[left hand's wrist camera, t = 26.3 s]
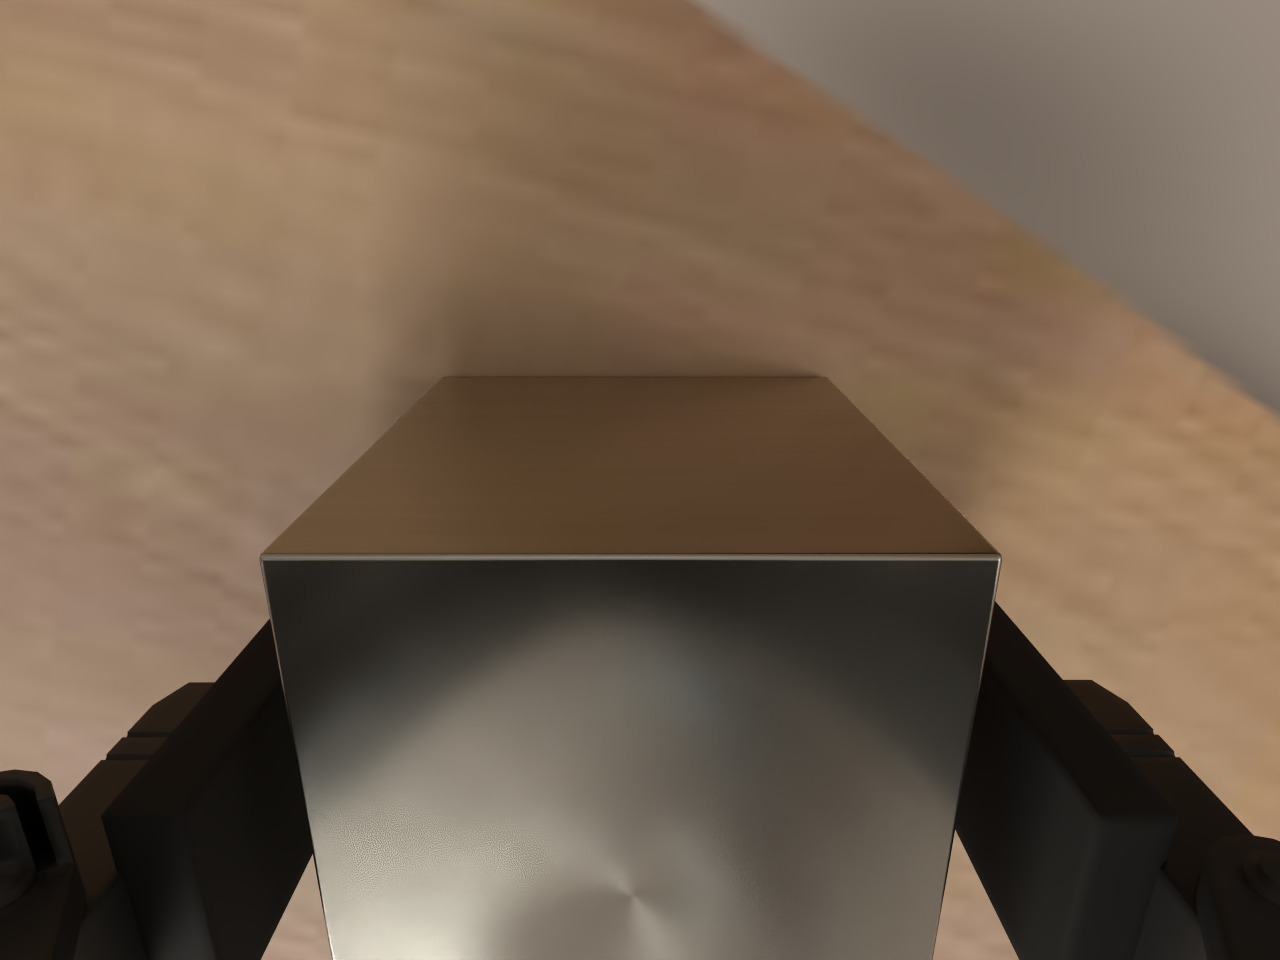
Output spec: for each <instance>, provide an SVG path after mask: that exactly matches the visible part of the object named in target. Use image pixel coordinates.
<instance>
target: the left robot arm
mask: <svg viewBox="0 0 1280 960" xmlns="http://www.w3.org/2000/svg"><path fill="white" fill-rule="evenodd" d="M955 830H956V832H957V834H958V836H959V838H960V840H961V842H962V844H963V846H964V848H965V850H966V852H967V854H968V856H969V858H970V860H971V862H972V864H973V866H974V868H975V870H976V872H977V874H978V876H979V878H980V881H981V883H982V885H983V887H984V889H985V891H986V893H987V895H988V897H989V899H990V901H991V903H992V905H993V907H994V909H995V911H996V913H997V915H998V917H999V919H1000V921H1001V923H1002V925H1003V927H1004V929H1005V931H1006V933H1007V935H1008V937H1009V940H1010V942H1011V944H1012V946H1013V948H1014V950H1015V952H1016V954H1017V956H1018V958H1019V960H1280V841H1278V840H1275V839H1271V838H1265V837H1259V836H1254V835H1253V834H1252V833H1251V832H1250V831H1249V830H1248V829H1247V828H1246V827H1245V826H1244V825H1243V824H1242V823H1241V822H1240V821H1239V819H1238V818H1237V817H1236V816H1235V815H1234V814H1233V813H1232V812H1231V811H1230V810H1229V809H1228V808H1227V807H1226V806H1225V805H1224V804H1223V803H1222V802H1221V800H1220V799H1219V798H1218V797H1217V796H1216V795H1215V794H1214V793H1213V792H1212V791H1211V790H1210V789H1209V788H1208V787H1207V786H1206V785H1205V784H1204V783H1203V781H1202V780H1201V779H1200V778H1199V777H1198V776H1197V775H1196V774H1195V773H1194V772H1193V771H1192V770H1191V769H1190V768H1189V767H1188V766H1187V765H1186V764H1185V762H1184V761H1183V760H1182V759H1181V758H1180V757H1175V755H1174V751H1173V750H1172V749H1171V748H1170V747H1169V746H1168V745H1167V743H1166V742H1165V741H1164V740H1163V739H1162V738H1161V737H1160V736H1159V735H1154V733H1153V729H1152V728H1151V727H1150V726H1149V724H1148V723H1147V722H1146V721H1145V720H1144V719H1143V718H1142V717H1141V716H1140V715H1139V714H1138V713H1137V712H1136V711H1135V710H1134V709H1133V708H1132V706H1131V705H1130V704H1129V703H1128V702H1126V701H1124V700H1123V699H1121V698H1120V697H1118V696H1116V695H1115V694H1113V693H1112V692H1110V691H1108V690H1107V689H1105V688H1103V687H1102V686H1100V685H1099V684H1097V683H1095V682H1094V681H1092V680H1062V678H1061V677H1060V676H1059V675H1058V674H1057V673H1056V671H1055V670H1054V669H1053V668H1052V667H1051V666H1050V665H1049V663H1048V662H1047V661H1046V660H1045V659H1044V658H1043V656H1042V655H1041V654H1040V653H1039V652H1038V651H1037V649H1036V648H1035V647H1034V646H1033V645H1032V644H1031V642H1030V641H1029V640H1028V639H1027V638H1026V637H1025V635H1024V634H1023V633H1022V632H1021V631H1020V630H1019V628H1018V627H1017V626H1016V625H1015V624H1014V623H1013V621H1012V620H1011V619H1010V618H1009V617H1008V616H1007V614H1006V613H1005V612H1004V611H1003V610H1002V609H1001V607H1000V606H999V605H998V604H997V603H996V602H995V603H994V608H993V614H992V620H991V626H990V631H989V637H988V643H987V649H986V654H985V660H984V666H983V672H982V677H981V683H980V689H979V694H978V700H977V706H976V712H975V717H974V723H973V729H972V735H971V740H970V746H969V752H968V758H967V763H966V769H965V775H964V781H963V786H962V792H961V798H960V804H959V809H958V815H957V821H956V827H955ZM312 854H313V851H312V846H311V840H310V835H309V829H308V824H307V818H306V813H305V807H304V802H303V796H302V791H301V785H300V780H299V774H298V769H297V763H296V758H295V752H294V747H293V741H292V736H291V730H290V725H289V719H288V714H287V708H286V702H285V697H284V691H283V686H282V680H281V675H280V669H279V664H278V658H277V653H276V647H275V642H274V636H273V631H272V625H271V620H270V619H269V620H268V621H267V623H266V624H265V625H264V626H263V627H262V628H261V630H260V631H259V632H258V633H257V634H256V635H255V637H254V638H253V639H252V640H251V641H250V642H249V644H248V645H247V646H246V647H245V648H244V649H243V651H242V652H241V653H240V654H239V655H238V656H237V658H236V659H235V660H234V661H233V662H232V663H231V665H230V666H229V667H228V668H227V669H226V670H225V672H224V673H223V674H222V675H221V676H220V677H219V678H218V680H217V681H216V682H215V683H188V684H186V685H184V686H183V687H181V688H180V689H178V690H176V691H175V692H173V693H172V694H170V695H168V696H167V697H165V698H164V699H162V700H161V701H159V702H157V703H156V704H154V705H153V706H152V707H151V708H150V709H149V710H148V711H147V712H146V713H145V714H144V715H143V716H142V717H141V718H140V719H139V721H138V722H137V723H136V724H135V725H134V726H133V727H132V728H131V729H130V730H129V731H128V735H127V737H123V738H122V739H121V740H120V741H119V742H118V743H117V744H116V745H115V746H114V747H113V748H112V749H111V750H110V751H109V752H108V753H107V757H106V760H101V761H100V762H99V763H98V764H97V765H96V766H95V767H94V768H93V769H92V770H91V772H90V773H89V774H88V775H87V776H86V777H85V778H84V779H83V780H82V781H81V782H80V783H79V784H78V785H77V786H76V787H75V789H74V790H73V791H72V792H71V793H70V794H69V795H68V796H67V797H66V798H65V799H64V800H63V801H62V802H61V803H60V804H59V805H58V802H57V799H56V796H55V793H54V789H53V786H52V783H51V781H50V780H48V779H47V778H45V777H44V776H43V775H41V774H40V773H38V772H32V771H23V770H8V771H2V772H0V960H261V958H262V956H263V954H264V952H265V950H266V948H267V946H268V944H269V942H270V940H271V938H272V935H273V933H274V931H275V929H276V927H277V925H278V923H279V921H280V919H281V917H282V915H283V913H284V911H285V909H286V907H287V905H288V903H289V901H290V899H291V897H292V895H293V893H294V891H295V889H296V887H297V885H298V883H299V881H300V879H301V876H302V874H303V872H304V870H305V868H306V866H307V864H308V862H309V860H310V858H311V856H312Z"/></svg>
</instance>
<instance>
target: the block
mask: <svg viewBox="0 0 1280 960" xmlns="http://www.w3.org/2000/svg"><path fill="white" fill-rule="evenodd" d="M1001 562H1002V557H1001V554H1000V553H999V552H998V551H997V550H996V549H995V548H994V547H993V546H992V545H991V544H990V543H989V542H988V541H987V540H986V539H985V538H984V537H983V536H982V535H981V534H980V533H979V532H978V531H977V530H976V529H975V528H974V527H973V526H972V525H971V524H970V523H969V522H968V521H967V519H966V518H965V517H964V516H963V515H962V514H961V513H960V512H959V511H958V510H957V509H956V508H955V507H954V506H953V505H952V504H951V503H950V502H949V501H948V500H947V499H946V498H945V497H944V496H943V495H942V494H941V493H940V492H939V491H938V490H937V489H936V488H935V487H934V486H933V485H932V484H931V483H930V482H929V481H928V480H927V479H926V478H925V477H924V476H923V475H922V474H921V473H920V472H919V471H918V470H917V469H916V468H915V467H914V465H913V464H912V463H911V462H910V461H909V460H908V459H907V458H906V457H905V456H904V455H903V454H902V453H901V452H900V451H899V450H898V449H897V448H896V447H895V446H894V445H893V444H892V443H891V442H890V441H889V440H888V439H887V438H886V437H885V436H884V435H883V434H882V433H881V432H880V431H879V430H878V429H877V428H876V427H875V426H874V425H873V424H872V423H871V422H870V421H869V420H868V419H867V418H866V417H865V416H864V415H863V414H862V413H861V411H860V410H859V409H858V408H857V407H856V406H855V405H854V404H853V403H852V402H851V401H850V400H849V399H848V398H847V397H846V396H845V395H844V394H843V393H842V392H841V391H840V390H839V389H838V388H837V387H836V386H835V385H834V384H833V383H832V382H831V381H830V380H829V379H828V378H826V377H443V378H442V379H441V380H440V381H439V382H438V383H437V384H435V385H434V386H433V387H432V388H431V389H430V390H429V391H428V392H427V393H426V394H425V395H424V396H423V397H422V398H421V399H420V400H419V401H418V402H417V403H416V404H415V405H414V406H413V407H412V408H411V409H410V410H409V411H408V412H407V413H406V414H405V415H404V416H403V417H402V418H400V419H399V420H398V421H397V422H396V423H395V424H394V425H393V426H392V427H391V428H390V429H389V430H388V431H387V432H386V433H385V434H384V435H383V436H382V437H381V438H380V439H379V440H378V441H377V442H376V443H375V444H374V445H373V446H372V447H371V448H370V449H369V450H368V451H366V452H365V453H364V454H363V455H362V456H361V457H360V458H359V459H358V460H357V461H356V462H355V463H354V464H353V465H352V466H351V467H350V468H349V469H348V470H347V471H346V472H345V473H344V474H343V475H342V476H341V477H340V478H339V479H338V480H337V481H336V482H335V483H334V484H333V485H331V486H330V487H329V488H328V489H327V490H326V491H325V492H324V493H323V494H322V495H321V496H320V497H319V498H318V499H317V500H316V501H315V502H314V503H313V504H312V505H311V506H310V507H309V508H308V509H307V510H306V511H305V512H304V513H303V514H302V515H301V516H300V517H299V518H297V519H296V520H295V521H294V522H293V523H292V524H291V525H290V526H289V527H288V528H287V529H286V530H285V531H284V532H283V533H282V534H281V535H280V536H279V537H278V538H277V539H276V540H275V541H274V542H273V543H272V544H271V545H270V546H269V547H268V548H267V549H266V550H265V551H264V552H262V553H261V555H260V565H261V570H262V576H263V581H264V587H265V592H266V598H267V603H268V609H269V614H270V620H271V625H272V631H273V636H274V642H275V647H276V653H277V658H278V664H279V669H280V675H281V680H282V686H283V691H284V697H285V702H286V708H287V714H288V719H289V725H290V730H291V736H292V741H293V747H294V752H295V758H296V763H297V769H298V774H299V780H300V785H301V791H302V796H303V802H304V807H305V813H306V818H307V824H308V829H309V835H310V840H311V846H312V851H313V857H314V862H315V868H316V874H317V879H318V885H319V890H320V896H321V901H322V907H323V912H324V918H325V923H326V929H327V934H328V940H329V945H330V951H331V956H332V960H932V959H933V953H934V947H935V942H936V936H937V930H938V924H939V919H940V913H941V907H942V901H943V896H944V890H945V884H946V878H947V873H948V867H949V861H950V855H951V850H952V844H953V838H954V832H955V827H956V821H957V815H958V809H959V804H960V798H961V792H962V786H963V781H964V775H965V769H966V763H967V758H968V752H969V746H970V740H971V735H972V729H973V723H974V717H975V712H976V706H977V700H978V694H979V689H980V683H981V677H982V672H983V666H984V660H985V654H986V649H987V643H988V637H989V631H990V626H991V620H992V614H993V608H994V603H995V597H996V591H997V585H998V580H999V574H1000V568H1001Z"/></svg>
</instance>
